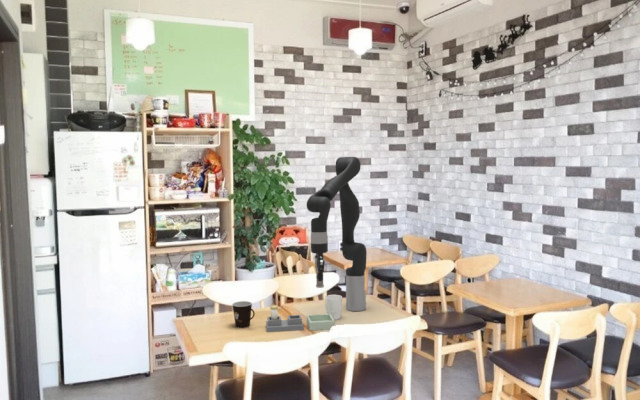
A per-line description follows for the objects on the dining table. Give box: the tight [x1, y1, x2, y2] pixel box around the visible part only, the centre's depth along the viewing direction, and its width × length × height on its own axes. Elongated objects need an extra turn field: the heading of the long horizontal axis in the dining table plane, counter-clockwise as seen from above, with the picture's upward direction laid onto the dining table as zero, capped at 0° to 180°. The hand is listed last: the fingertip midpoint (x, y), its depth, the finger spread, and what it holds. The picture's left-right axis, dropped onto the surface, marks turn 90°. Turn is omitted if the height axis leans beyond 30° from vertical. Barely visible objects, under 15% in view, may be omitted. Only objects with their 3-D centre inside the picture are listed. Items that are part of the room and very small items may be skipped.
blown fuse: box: [315, 268, 325, 289], centre depth 232 cm, size 3×3×8 cm
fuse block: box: [265, 314, 305, 333], centre depth 232 cm, size 16×9×4 cm, turn 99°
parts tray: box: [306, 313, 336, 331], centre depth 234 cm, size 11×11×4 cm
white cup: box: [325, 294, 343, 321], centre depth 245 cm, size 8×8×10 cm
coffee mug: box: [232, 300, 256, 329], centre depth 234 cm, size 12×9×10 cm
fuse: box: [269, 304, 279, 320], centre depth 231 cm, size 3×3×8 cm
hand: (319, 279), depth 232 cm, fingers closed on blown fuse, 3 cm apart
